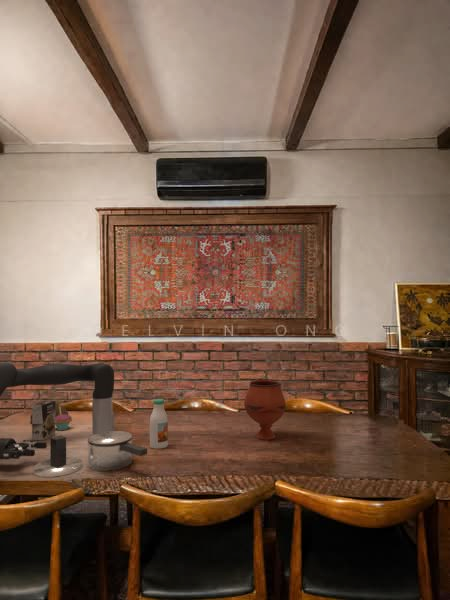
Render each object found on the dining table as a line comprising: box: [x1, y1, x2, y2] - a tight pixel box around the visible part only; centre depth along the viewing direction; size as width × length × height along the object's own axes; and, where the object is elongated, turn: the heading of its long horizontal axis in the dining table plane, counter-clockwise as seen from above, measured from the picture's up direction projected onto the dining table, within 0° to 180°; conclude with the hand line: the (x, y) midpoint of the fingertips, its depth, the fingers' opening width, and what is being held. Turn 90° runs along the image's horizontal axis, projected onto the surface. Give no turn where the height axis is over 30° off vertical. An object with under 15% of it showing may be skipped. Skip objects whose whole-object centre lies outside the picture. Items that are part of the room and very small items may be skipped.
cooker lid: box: [32, 435, 83, 478], centre depth 156 cm, size 17×17×12 cm
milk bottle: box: [149, 398, 169, 450], centre depth 181 cm, size 8×8×20 cm
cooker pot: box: [87, 430, 148, 472], centre depth 157 cm, size 16×28×10 cm, turn 52°
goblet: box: [243, 379, 286, 441], centre depth 193 cm, size 19×19×25 cm
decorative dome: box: [29, 402, 69, 425], centre depth 227 cm, size 19×20×10 cm
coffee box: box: [31, 400, 56, 441], centre depth 195 cm, size 9×6×16 cm
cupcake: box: [55, 404, 73, 431], centre depth 209 cm, size 9×8×12 cm
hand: (40, 449), depth 157 cm, fingers open, 8 cm apart
